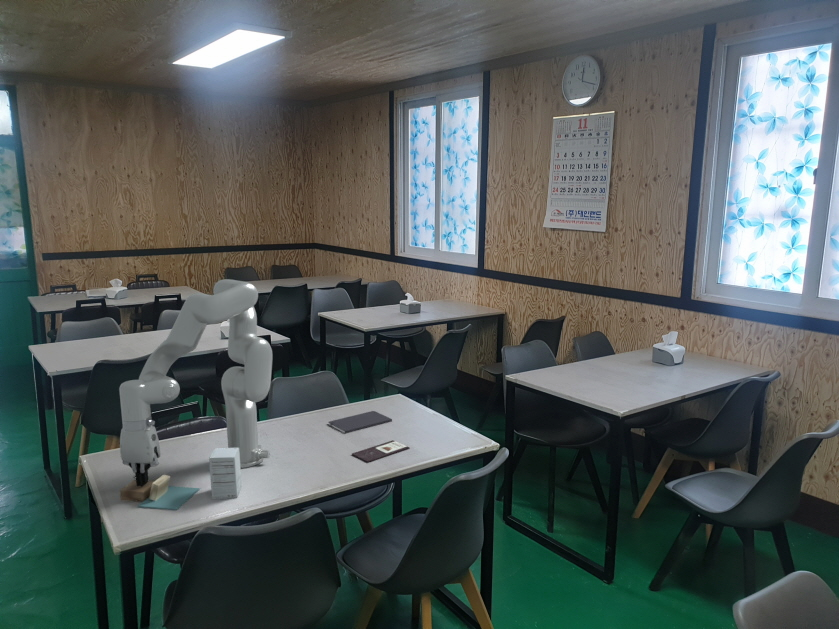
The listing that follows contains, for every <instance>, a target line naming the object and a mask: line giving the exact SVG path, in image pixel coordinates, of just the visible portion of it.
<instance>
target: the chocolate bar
mask: <svg viewBox="0 0 839 629" xmlns="http://www.w3.org/2000/svg"><path fill="white" fill-rule="evenodd" d="M407 450H410V447H409V446H407V445H405V444H403V443H400V442H397V441H396V440H389V441H387V442H384V443H381V444H377V445H374V446H370V447H367V448H365V449H364V448H363V449H362V450H359V451H356V452H353V453H351V456H353V457H355V458H356V459H358V460H360V461H363V462H364V463H367V464H370V463H372V462H375V461H378V460H381V459H384V458H387V457H389V456H390V457H391V456H392V455H395V454H398V453H401V452H405V451H407Z"/></svg>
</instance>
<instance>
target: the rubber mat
mask: <svg viewBox="0 0 839 629" xmlns="http://www.w3.org/2000/svg"><path fill="white" fill-rule="evenodd" d="M200 489H201V488H200V487H198V488H197V487H189V486H188V487H186V486H174V485H172V486H171V485H168V489H167V492H166V493H165V494H164V495H162V496H161V497H160V498H159V499H157V500H156V501H154V500H151V499H149V497H148V498H147V499H146V500H145V501H143V502H140V503H139V505H137V508H142V509H155V510H156V509H157V510H168V511H178V510H180V508H181V507H182V506H184V505H185V504H186V503H187V501H189V500H190V499H191V498H192V497H193V496H194V495H196V493H198V492H199V491H200Z"/></svg>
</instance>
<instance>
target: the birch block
mask: <svg viewBox="0 0 839 629" xmlns="http://www.w3.org/2000/svg"><path fill="white" fill-rule="evenodd" d="M170 479H171V476H170V475H166V474H163V475H161V476H159V478H157V479H155V480H154V481H155V482H153V483H152V487H151V492H150V497H149V499H151V500H154V501H156V500H157V499H159V498H160V497H161V496H162V495H164V494H165V493H166V492H167V489H168V486H170Z"/></svg>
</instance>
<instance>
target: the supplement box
mask: <svg viewBox="0 0 839 629" xmlns="http://www.w3.org/2000/svg"><path fill="white" fill-rule="evenodd" d="M208 460H209V475H210V477H209V478H210V489H211V498H212V499H214V500H215V499H216V500H217V499H220V500H221V499H237V498H239V494H240V491H241V489H242V487H243V486H242V474H241V472H242V470H241V469H242V468H240V453H239V448H228V447H223V448H222V447H221V448H220V447H219V448H217V447H216V448H213V451H212V453H211V455H210V457H209V459H208Z"/></svg>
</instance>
